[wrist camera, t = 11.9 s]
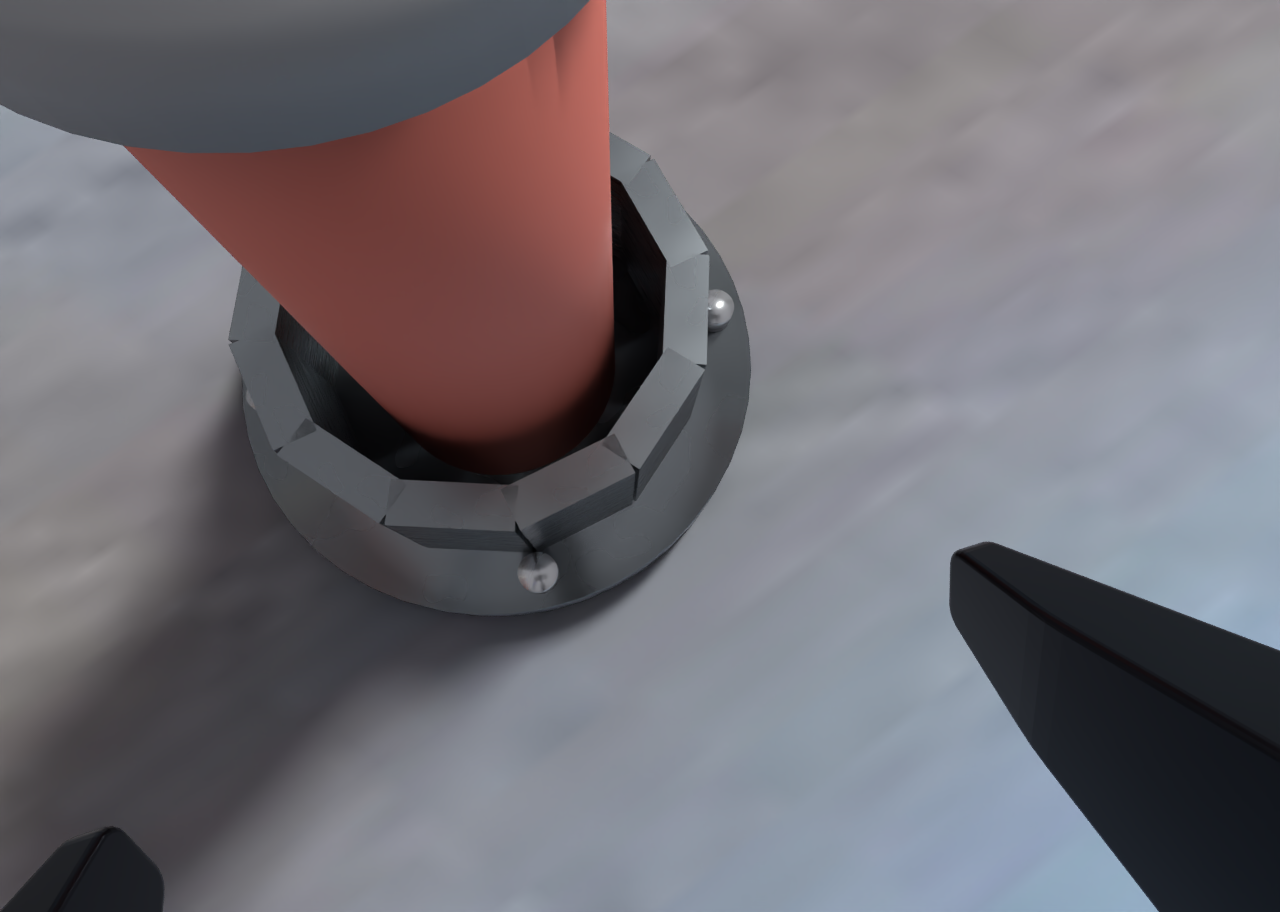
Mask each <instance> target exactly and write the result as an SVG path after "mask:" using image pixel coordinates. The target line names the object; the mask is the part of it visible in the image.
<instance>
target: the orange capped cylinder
mask: <svg viewBox="0 0 1280 912" xmlns="http://www.w3.org/2000/svg"><path fill="white" fill-rule="evenodd" d="M0 104H1V105H3V106H4V107H6V108H8V109H10V110H12V111H14V112H16V113H18V114H20V115H23V116H26V117H28V118H31V119H34V120H36V121H39V122H42V123H44V124H47V125H50V126H53V127H55V128H58V129H61V130H63V131H66V132H69V133H72V134H76V135H81V136H85V137H89V138H93V139H98V140H102V141H106V142H111V143H115V144H119V145H123V146H124V147H125V148H126V149H127V150H128V151H129V152H130V153H131V154H132V155H133V156H134V157H135V158H136V159H137V160H138V161H139V162H140V163H141V164H142V165H143V166H144V167H145V168H146V169H147V170H148V171H149V172H150V173H151V174H152V175H153V176H154V177H155V178H156V179H157V180H158V181H159V182H160V183H161V184H162V185H163V186H164V187H165V188H166V189H167V190H168V191H169V192H170V193H171V194H172V195H173V196H174V197H175V198H176V199H177V200H178V201H179V202H180V203H181V204H182V205H183V206H184V207H185V208H186V209H187V210H188V211H189V212H190V213H191V214H192V215H193V216H194V217H195V219H196V220H197V221H198V222H199V223H200V224H201V225H202V226H203V227H204V228H205V229H206V230H207V231H208V232H209V233H210V234H211V235H212V236H213V237H214V238H215V239H216V240H217V241H218V242H219V243H220V244H221V245H222V246H223V247H224V248H225V249H226V250H227V251H228V252H229V253H230V254H231V255H232V256H233V257H234V258H235V259H236V260H237V261H238V262H239V263H240V264H241V265H242V266H243V267H244V268H245V269H246V270H247V271H248V272H249V273H250V274H251V275H252V276H253V277H254V278H255V279H256V280H257V281H258V282H259V283H260V284H261V285H262V286H263V287H264V288H265V289H266V290H267V291H268V292H269V293H270V294H271V295H272V296H273V297H274V298H275V299H276V300H277V301H278V302H279V303H280V304H281V305H282V306H283V307H284V308H285V309H286V310H287V311H288V312H289V313H290V314H291V315H292V316H293V317H294V319H295V320H296V321H297V322H298V323H299V324H300V325H301V326H302V327H303V328H304V329H305V330H306V331H307V332H308V333H309V334H310V335H311V336H312V337H313V338H314V339H315V340H316V341H317V342H318V343H319V344H320V345H321V346H322V347H323V348H324V349H325V350H326V351H327V352H328V353H329V354H330V355H331V356H332V357H333V358H334V359H335V360H336V361H337V362H338V363H339V364H340V365H341V366H342V367H343V368H344V369H345V370H346V371H347V372H348V373H349V374H350V375H351V376H352V377H353V378H354V379H355V380H356V381H357V382H358V383H359V384H360V385H361V386H362V387H363V388H364V389H365V390H366V391H367V392H368V393H369V394H370V395H371V396H372V397H373V398H374V399H375V400H376V401H377V402H378V403H379V404H380V405H381V406H382V407H383V408H384V409H385V410H386V411H387V412H388V413H389V414H390V415H391V416H392V417H393V419H394V420H395V421H396V422H397V423H398V424H399V425H400V426H401V427H402V428H403V429H404V430H405V431H406V432H407V433H408V434H409V435H410V436H411V437H412V438H413V439H414V440H415V441H416V442H417V443H418V444H419V445H420V446H421V447H422V448H423V449H425V450H426V451H428V452H429V453H430V454H432V455H433V456H434V457H436V458H438V459H439V460H441V461H443V462H445V463H447V464H449V465H451V466H454V467H456V468H459V469H461V470H465V471H469V472H474V473H479V474H488V475H509V474H516V473H523V472H526V471H530V470H533V469H537V468H540V467H542V466H544V465H547V464H549V463H552V462H553V461H555V460H557V459H559V458H560V457H562V456H564V455H565V454H567V453H568V452H569V451H571V450H572V449H573V448H575V447H576V446H577V445H578V444H579V443H580V442H581V441H582V440H583V439H584V438H585V437H586V436H587V435H588V434H589V433H590V432H591V430H592V429H593V428H594V427H595V425H596V424H597V422H598V421H599V419H600V417H601V416H602V414H603V412H604V410H605V408H606V405H607V403H608V401H609V398H610V395H611V391H612V387H613V383H614V375H615V343H614V304H613V264H612V224H611V184H610V144H609V104H608V64H607V24H606V0H0Z"/></svg>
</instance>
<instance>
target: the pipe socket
mask: <svg viewBox="0 0 1280 912" xmlns="http://www.w3.org/2000/svg"><path fill="white" fill-rule="evenodd" d="M609 144H610V184H611V224H612V264H613V304H614V343H615V375H614V383H613V387H612V391H611V395H610V398H609V401H608V403H607V405H606V408H605V410H604V412H603V414H602V416H601V417H600V419H599V421H598V422H597V424H596V425H595V427H594V428H593V429H592V430H591V432H590V433H589V434H588V435H587V436H586V437H585V438H584V439H583V440H582V441H581V442H580V443H579V444H578V445H577V446H576V447H575V448H573V449H572V450H571V451H569V452H568V453H567V454H565V455H564V456H562V457H560V458H559V459H557V460H555V461H553V462H552V463H549V464H547V465H544V466H542V467H540V468H537V469H533V470H530V471H526V472H523V473H516V474H509V475H488V474H479V473H474V472H469V471H465V470H461V469H459V468H456V467H454V466H451V465H449V464H447V463H445V462H443V461H441V460H439V459H438V458H436V457H434V456H433V455H432V454H430V453H429V452H428V451H426V450H425V449H423V448H422V447H421V446H420V445H419V444H418V443H417V442H416V441H415V440H414V439H413V438H412V437H411V436H410V435H409V434H408V433H407V432H406V431H405V430H404V429H403V428H402V427H401V426H400V425H399V424H398V423H397V422H396V421H395V420H394V419H393V417H392V416H391V415H390V414H389V413H388V412H387V411H386V410H385V409H384V408H383V407H382V406H381V405H380V404H379V403H378V402H377V401H376V400H375V399H374V398H373V397H372V396H371V395H370V394H369V393H368V392H367V391H366V390H365V389H364V388H363V387H362V386H361V385H360V384H359V383H358V382H357V381H356V380H355V379H354V378H353V377H352V376H351V375H350V374H349V373H348V372H347V371H346V370H345V369H344V368H343V367H342V366H341V365H340V364H339V363H338V362H337V361H336V360H335V359H334V358H333V357H332V356H331V355H330V354H329V353H328V352H327V351H326V350H325V349H324V348H323V347H322V346H321V345H320V344H319V343H318V342H317V341H316V340H315V339H314V338H313V337H312V336H311V335H310V334H309V333H308V332H307V331H306V330H305V329H304V328H303V327H302V326H301V325H300V324H299V323H298V322H297V321H296V320H295V319H294V317H293V316H292V315H291V314H290V313H289V312H288V311H287V310H286V309H285V308H284V307H283V306H282V305H281V304H280V303H279V302H278V301H277V300H276V299H275V298H274V297H273V296H272V295H271V294H270V293H269V292H268V291H267V290H266V289H265V288H264V287H263V286H262V285H261V284H260V283H259V282H258V281H257V280H256V279H255V278H254V277H253V276H252V275H251V274H250V273H249V272H248V271H247V270H246V269H245V268H244V267H243V266H242V271H241V276H240V282H239V287H238V292H237V297H236V302H235V308H234V313H233V318H232V323H231V328H230V333H229V339H228V340H229V341H231V342H232V344H229V346H230V349H231V351H232V354H233V356H234V358H235V361H236V363H237V366H238V368H239V370H240V373H241V375H242V386H243V409H244V415H245V421H246V427H247V433H248V438H249V441H250V444H251V447H252V450H253V453H254V457H255V460H256V463H257V466H258V469H259V471H260V473H261V475H262V477H263V479H264V481H265V483H266V485H267V487H268V489H269V491H270V493H271V495H272V497H273V498H274V500H275V501H276V503H277V504H278V506H279V507H280V508H281V510H282V511H283V513H284V514H285V516H286V517H287V518H288V520H289V521H290V523H291V524H292V525H293V527H294V528H295V529H296V530H297V531H298V532H299V533H300V534H301V535H302V536H303V537H304V538H305V539H306V540H307V541H308V542H309V543H310V545H311V546H312V547H313V548H314V549H315V550H317V551H318V552H319V553H320V554H322V555H323V556H324V557H325V558H327V559H328V560H329V561H330V562H332V563H333V564H334V565H335V566H337V567H338V568H339V569H341V570H342V571H343V572H345V573H347V574H349V575H350V576H352V577H354V578H356V579H357V580H359V581H361V582H362V583H364V584H366V585H368V586H369V587H371V588H373V589H376V590H378V591H380V592H383V593H385V594H388V595H390V596H393V597H395V598H398V599H400V600H402V601H405V602H409V603H413V604H417V605H421V606H425V607H429V608H433V609H437V610H441V611H446V612H451V613H460V614H468V615H477V616H517V615H524V614H530V613H537V612H543V611H550V610H554V609H557V608H561V607H564V606H568V605H571V604H574V603H578V602H581V601H584V600H587V599H589V598H591V597H593V596H596V595H598V594H600V593H602V592H605V591H607V590H609V589H612V588H614V587H616V586H617V585H619V584H621V583H622V582H624V581H625V580H627V579H629V578H630V577H632V576H634V575H635V574H637V573H639V572H640V571H642V570H643V569H645V568H646V567H647V566H648V565H650V564H651V563H652V562H653V561H655V560H656V559H657V558H658V557H660V556H661V555H662V554H663V553H665V552H666V551H667V550H668V549H669V548H670V547H671V546H672V545H673V544H674V543H675V542H676V541H677V540H678V539H679V538H680V537H681V536H682V535H683V534H684V532H685V531H686V530H687V529H688V528H689V527H690V526H691V525H692V524H693V522H694V521H695V519H696V518H697V517H698V515H699V514H700V512H701V511H702V510H703V508H704V507H705V506H706V504H707V503H708V501H709V500H710V498H711V497H712V495H713V493H714V492H715V490H716V488H717V486H718V484H719V483H720V481H721V479H722V477H723V475H724V473H725V471H726V470H727V468H728V466H729V464H730V462H731V459H732V457H733V454H734V451H735V449H736V446H737V443H738V440H739V438H740V435H741V432H742V428H743V423H744V419H745V414H746V410H747V405H748V400H749V388H750V375H751V364H750V347H749V337H748V332H747V327H746V322H745V317H744V312H743V308H742V305H741V302H740V300H739V297H738V294H737V291H736V288H735V285H734V282H733V280H732V278H731V276H730V274H729V272H728V270H727V268H726V266H725V264H724V262H723V260H722V259H721V257H720V255H719V253H718V252H717V250H716V249H715V247H714V246H713V245H712V243H711V242H710V240H709V239H708V237H707V236H706V234H705V233H704V232H703V230H702V229H701V228H700V227H699V226H698V225H697V224H696V222H695V221H694V220H693V219H692V218H691V217H690V216H689V215H688V214H687V212H686V211H685V210H684V209H683V207H682V205H681V204H680V202H679V200H678V198H677V197H676V195H675V193H674V192H673V190H672V188H671V187H670V185H669V183H668V182H667V180H666V178H665V177H664V175H663V173H662V171H661V170H660V168H659V166H658V165H657V163H656V161H655V160H654V159H652V160H650V155H649V154H647V153H645V152H644V151H642V150H640V149H638V148H637V147H635V146H633V145H631V144H630V143H628V142H626V141H624V140H623V139H621V138H619V137H618V136H616V135H614V134H612V133H611V132H609Z"/></svg>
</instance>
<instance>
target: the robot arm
mask: <svg viewBox="0 0 1280 912" xmlns="http://www.w3.org/2000/svg"><path fill="white" fill-rule="evenodd" d="M949 605H950V612H951V615H952V618H953V621H954V623H955V625H956V627H957V629H958V630H959V632H960V633H961V635H962V637H963V638H964V640H965V642H966V643H967V645H968V646H969V648H970V650H971V651H972V653H973V654H974V656H975V658H976V659H977V661H978V662H979V664H980V666H981V667H982V669H983V671H984V672H985V674H986V675H987V677H988V679H989V680H990V682H991V683H992V685H993V687H994V688H995V690H996V691H997V693H998V695H999V696H1000V698H1001V699H1002V701H1003V703H1004V704H1005V706H1006V708H1007V709H1008V711H1009V712H1010V714H1011V716H1012V717H1013V719H1014V720H1015V722H1016V724H1017V725H1018V727H1019V728H1020V730H1021V731H1022V733H1023V734H1024V736H1025V737H1026V739H1027V740H1028V742H1029V743H1030V745H1031V746H1032V748H1033V749H1034V750H1035V752H1036V753H1037V754H1038V756H1039V757H1040V759H1041V760H1042V761H1043V763H1044V764H1045V765H1046V767H1047V768H1048V769H1049V770H1050V772H1051V773H1052V774H1053V776H1054V777H1055V778H1056V780H1057V781H1058V782H1059V783H1060V785H1061V786H1062V787H1063V789H1064V790H1065V791H1066V792H1067V794H1068V795H1069V796H1070V798H1071V799H1072V800H1073V801H1074V803H1075V804H1076V805H1077V807H1078V808H1079V809H1080V811H1081V812H1082V813H1083V814H1084V816H1085V817H1086V818H1087V820H1088V821H1089V822H1090V823H1091V825H1092V826H1093V827H1094V829H1095V830H1096V831H1097V832H1098V834H1099V835H1100V836H1101V838H1102V839H1103V840H1104V842H1105V843H1106V844H1107V845H1108V847H1109V848H1110V849H1111V851H1112V852H1113V853H1114V854H1115V856H1116V857H1117V858H1118V860H1119V861H1120V862H1121V863H1122V865H1123V866H1124V867H1125V869H1126V870H1127V871H1128V872H1129V874H1130V875H1131V876H1132V878H1133V879H1134V880H1135V882H1136V883H1137V884H1138V885H1139V887H1140V888H1141V889H1142V891H1143V892H1144V893H1145V894H1146V896H1147V897H1148V898H1149V900H1150V901H1151V902H1152V903H1153V905H1154V906H1155V907H1156V909H1157V910H1158V911H1159V912H1280V650H1277V649H1274V648H1272V647H1269V646H1266V645H1264V644H1261V643H1258V642H1256V641H1253V640H1250V639H1248V638H1245V637H1243V636H1240V635H1237V634H1235V633H1232V632H1229V631H1227V630H1224V629H1221V628H1219V627H1216V626H1213V625H1211V624H1208V623H1206V622H1203V621H1200V620H1198V619H1195V618H1192V617H1190V616H1187V615H1184V614H1182V613H1179V612H1176V611H1174V610H1171V609H1169V608H1166V607H1163V606H1161V605H1158V604H1155V603H1153V602H1150V601H1147V600H1145V599H1142V598H1139V597H1137V596H1134V595H1132V594H1129V593H1126V592H1124V591H1121V590H1118V589H1116V588H1113V587H1110V586H1108V585H1105V584H1102V583H1100V582H1097V581H1095V580H1092V579H1089V578H1087V577H1084V576H1081V575H1079V574H1076V573H1073V572H1071V571H1068V570H1065V569H1063V568H1060V567H1058V566H1055V565H1052V564H1050V563H1047V562H1044V561H1042V560H1039V559H1036V558H1034V557H1031V556H1028V555H1026V554H1023V553H1021V552H1018V551H1015V550H1013V549H1010V548H1007V547H1005V546H1002V545H999V544H997V543H993V542H982V543H978V544H975V545H972V546H969V547H966V548H963V549H960V550H957V551H956V552H954V554H953V555H952V557H951V562H950V597H949ZM163 903H164V882H163V878H162V875H161V872H160V870H159V868H158V867H157V866H156V865H155V864H154V863H153V862H152V860H151V859H150V858H149V857H148V856H147V855H146V854H145V853H144V852H143V851H142V850H141V849H140V848H139V847H138V846H137V845H136V844H135V843H134V842H133V840H132V839H131V838H130V837H129V836H128V835H127V834H126V833H125V832H124V831H123V830H121V829H120V828H116V827H113V826H109V827H104V828H100V829H97V830H94V831H91V832H88V833H85V834H82V835H79V836H76V837H73V838H71V839H69V840H67V841H66V842H65V843H63V844H62V845H61V846H60V847H59V848H58V849H57V850H56V851H55V852H54V853H53V854H52V855H51V856H50V858H49V859H48V860H47V861H46V862H45V863H44V864H43V865H42V866H41V867H40V868H39V869H38V871H37V872H36V873H35V874H34V875H33V876H32V877H31V878H30V879H29V880H28V881H27V883H26V884H25V885H24V886H23V887H22V888H21V889H20V890H19V891H18V892H17V893H16V894H15V896H14V897H13V898H12V899H11V900H10V901H9V902H8V903H7V904H6V905H5V906H4V908H3V909H2V910H1V911H0V912H163Z"/></svg>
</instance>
